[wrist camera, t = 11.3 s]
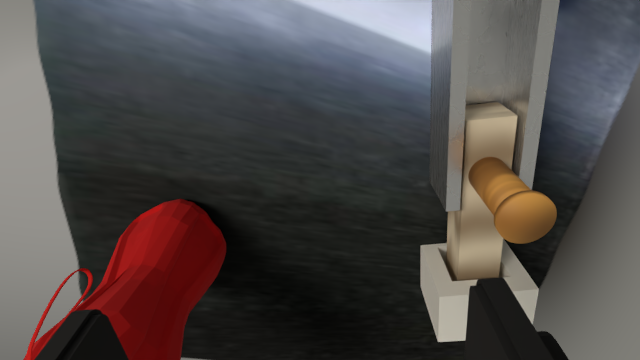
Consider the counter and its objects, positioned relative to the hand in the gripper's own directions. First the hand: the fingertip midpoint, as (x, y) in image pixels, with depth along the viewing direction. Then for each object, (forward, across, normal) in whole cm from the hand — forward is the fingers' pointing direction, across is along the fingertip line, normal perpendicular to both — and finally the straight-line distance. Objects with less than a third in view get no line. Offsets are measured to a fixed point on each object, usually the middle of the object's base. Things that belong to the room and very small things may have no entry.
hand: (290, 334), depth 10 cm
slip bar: (+27, -14, +13) cm, 33 cm away
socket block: (+28, -14, +22) cm, 38 cm away
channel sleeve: (+28, -14, +2) cm, 32 cm away
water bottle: (+28, +17, +14) cm, 36 cm away
